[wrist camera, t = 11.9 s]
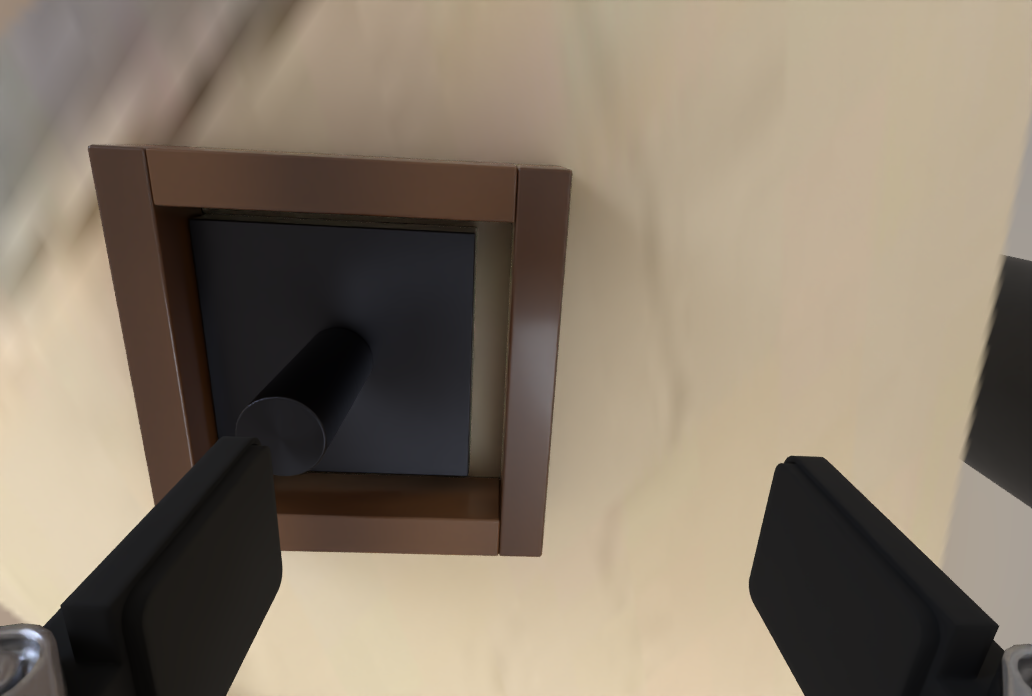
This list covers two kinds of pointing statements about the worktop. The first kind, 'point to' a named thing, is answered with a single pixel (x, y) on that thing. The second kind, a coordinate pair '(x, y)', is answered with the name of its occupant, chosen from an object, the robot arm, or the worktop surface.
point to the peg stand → (340, 340)
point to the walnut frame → (346, 191)
